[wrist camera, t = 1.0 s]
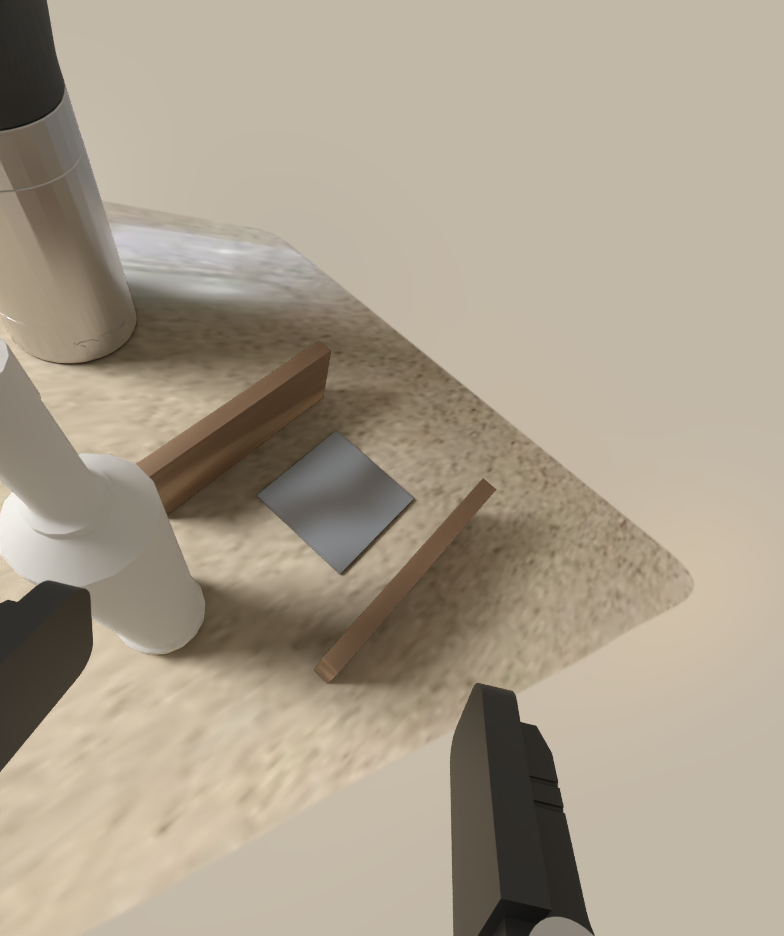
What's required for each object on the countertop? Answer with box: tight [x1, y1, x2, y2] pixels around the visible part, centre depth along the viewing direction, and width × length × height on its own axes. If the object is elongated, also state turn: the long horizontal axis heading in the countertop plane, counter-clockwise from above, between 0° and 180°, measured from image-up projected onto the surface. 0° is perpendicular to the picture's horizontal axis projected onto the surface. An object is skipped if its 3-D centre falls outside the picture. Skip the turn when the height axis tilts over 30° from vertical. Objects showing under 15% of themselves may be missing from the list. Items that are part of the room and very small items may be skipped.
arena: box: [137, 341, 496, 684], centre depth 35 cm, size 17×16×6 cm
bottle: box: [0, 337, 206, 655], centre depth 21 cm, size 5×5×25 cm
